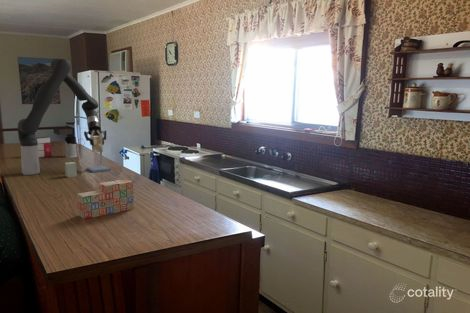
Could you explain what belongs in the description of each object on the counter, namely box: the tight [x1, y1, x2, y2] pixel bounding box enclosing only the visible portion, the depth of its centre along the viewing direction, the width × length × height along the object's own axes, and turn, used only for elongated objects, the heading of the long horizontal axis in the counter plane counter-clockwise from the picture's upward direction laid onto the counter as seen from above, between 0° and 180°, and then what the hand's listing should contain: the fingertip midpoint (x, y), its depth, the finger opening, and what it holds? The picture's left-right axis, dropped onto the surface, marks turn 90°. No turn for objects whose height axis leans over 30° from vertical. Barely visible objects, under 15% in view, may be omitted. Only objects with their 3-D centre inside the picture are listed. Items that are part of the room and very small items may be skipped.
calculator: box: [36, 136, 52, 159], centre depth 288 cm, size 11×4×15 cm, turn 143°
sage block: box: [64, 161, 78, 178], centre depth 224 cm, size 5×5×8 cm
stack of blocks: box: [77, 179, 135, 220], centre depth 157 cm, size 21×6×12 cm, turn 132°
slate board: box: [85, 164, 112, 174], centre depth 243 cm, size 11×13×2 cm
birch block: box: [91, 135, 103, 153], centre depth 240 cm, size 5×5×10 cm
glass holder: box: [64, 136, 85, 158], centre depth 292 cm, size 9×14×15 cm, turn 115°
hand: (97, 144), depth 238 cm, fingers closed on birch block, 5 cm apart
